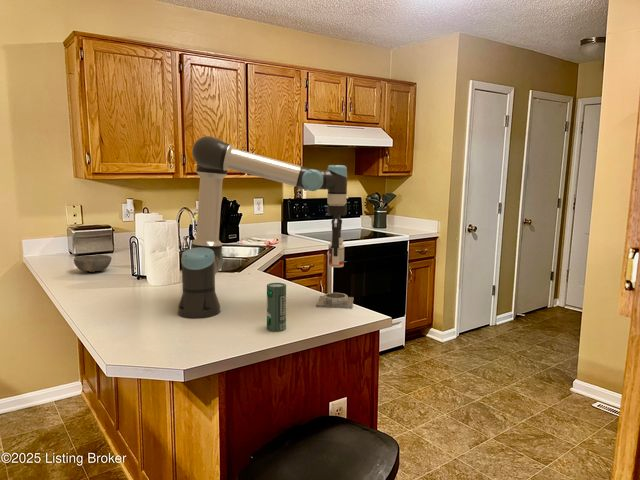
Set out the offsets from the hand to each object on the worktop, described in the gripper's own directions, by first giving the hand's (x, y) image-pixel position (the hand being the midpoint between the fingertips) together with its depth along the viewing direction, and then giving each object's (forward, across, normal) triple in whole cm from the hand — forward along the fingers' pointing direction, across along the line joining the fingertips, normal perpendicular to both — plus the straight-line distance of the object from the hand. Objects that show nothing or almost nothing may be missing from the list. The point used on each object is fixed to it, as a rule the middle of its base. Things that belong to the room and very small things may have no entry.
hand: (336, 262), depth 187 cm
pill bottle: (+2, 0, 0) cm, 2 cm away
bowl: (+16, +40, +129) cm, 136 cm away
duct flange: (+17, 0, 0) cm, 17 cm away
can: (+17, -35, +17) cm, 42 cm away
